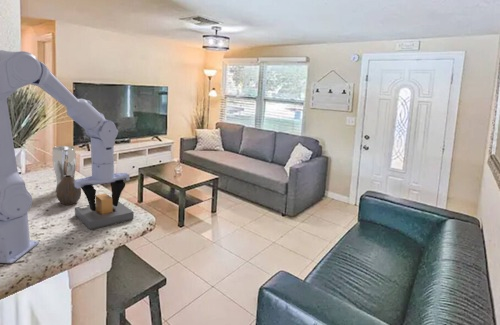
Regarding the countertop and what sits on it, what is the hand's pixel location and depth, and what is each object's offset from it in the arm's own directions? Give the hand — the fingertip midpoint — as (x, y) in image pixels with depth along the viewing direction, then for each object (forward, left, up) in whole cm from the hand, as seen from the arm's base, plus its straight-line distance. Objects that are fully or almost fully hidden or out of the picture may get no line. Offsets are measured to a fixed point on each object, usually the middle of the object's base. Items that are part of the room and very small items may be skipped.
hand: (104, 207), depth 95 cm
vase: (+9, +15, -3) cm, 18 cm away
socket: (0, 0, -3) cm, 3 cm away
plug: (0, 0, -3) cm, 3 cm away
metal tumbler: (+20, +22, -3) cm, 30 cm away
